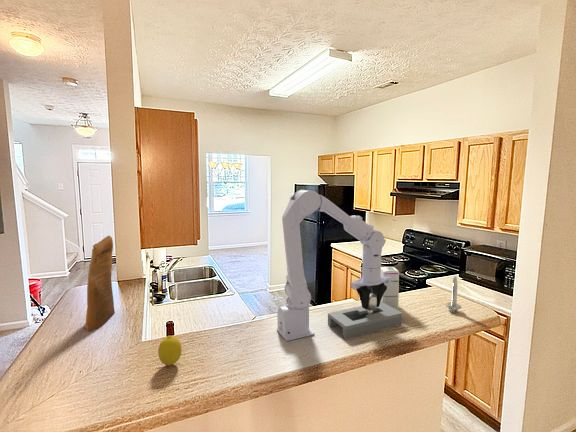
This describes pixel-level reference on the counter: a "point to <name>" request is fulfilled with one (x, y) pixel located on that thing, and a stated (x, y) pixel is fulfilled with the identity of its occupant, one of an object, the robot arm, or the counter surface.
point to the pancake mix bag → (100, 285)
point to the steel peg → (372, 304)
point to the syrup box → (391, 287)
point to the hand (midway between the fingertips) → (370, 307)
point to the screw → (454, 298)
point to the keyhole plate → (365, 320)
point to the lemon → (169, 350)
